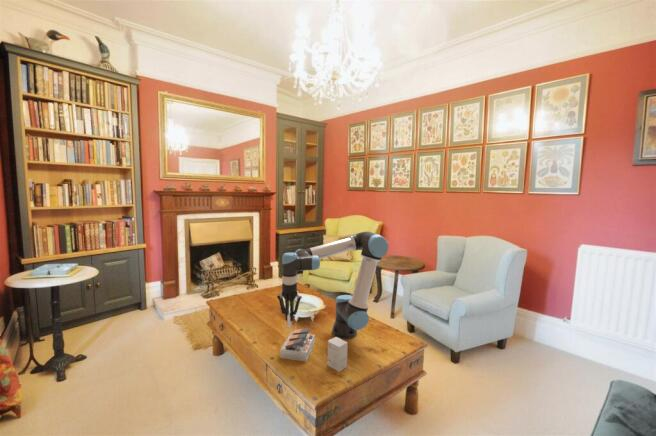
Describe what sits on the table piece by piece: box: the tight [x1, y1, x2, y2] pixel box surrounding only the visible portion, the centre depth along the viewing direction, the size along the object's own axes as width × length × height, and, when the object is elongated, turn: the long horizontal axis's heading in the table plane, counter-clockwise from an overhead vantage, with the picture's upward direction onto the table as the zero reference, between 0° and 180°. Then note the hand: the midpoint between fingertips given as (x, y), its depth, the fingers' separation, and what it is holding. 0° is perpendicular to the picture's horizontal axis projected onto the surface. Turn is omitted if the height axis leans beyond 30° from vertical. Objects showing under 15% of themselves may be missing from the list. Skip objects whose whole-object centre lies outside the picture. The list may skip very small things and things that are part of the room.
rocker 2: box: [289, 333, 307, 341], centre depth 159 cm, size 9×4×2 cm, turn 78°
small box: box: [326, 336, 349, 373], centre depth 146 cm, size 8×6×13 cm
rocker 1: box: [292, 327, 311, 335], centre depth 165 cm, size 9×4×2 cm, turn 78°
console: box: [279, 331, 316, 362], centre depth 159 cm, size 14×18×5 cm
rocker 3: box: [285, 338, 303, 348], centre depth 153 cm, size 9×4×2 cm, turn 78°
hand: (289, 326), depth 153 cm, fingers closed
